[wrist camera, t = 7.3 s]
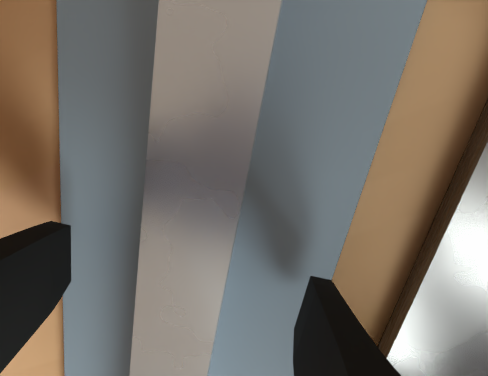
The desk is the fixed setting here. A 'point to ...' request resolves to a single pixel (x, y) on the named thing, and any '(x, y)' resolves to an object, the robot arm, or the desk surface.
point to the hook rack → (449, 281)
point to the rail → (196, 173)
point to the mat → (259, 177)
